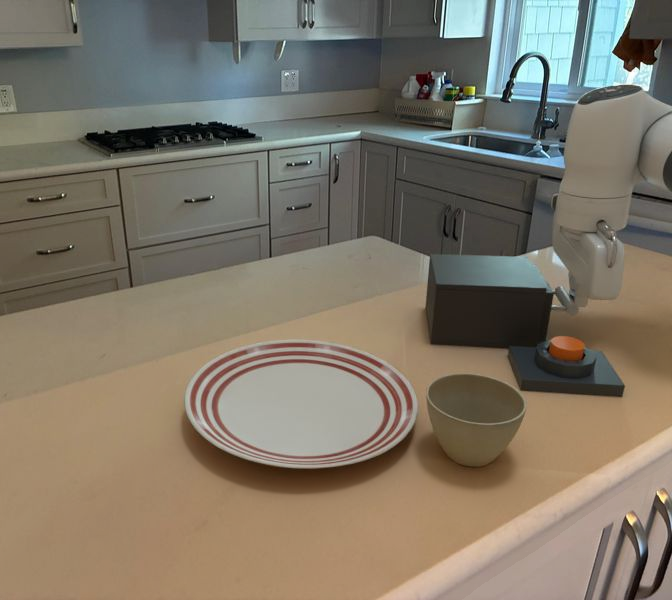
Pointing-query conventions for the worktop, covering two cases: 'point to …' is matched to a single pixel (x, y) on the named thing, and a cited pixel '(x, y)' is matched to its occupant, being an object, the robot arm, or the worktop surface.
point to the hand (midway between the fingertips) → (577, 303)
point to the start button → (566, 348)
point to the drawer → (564, 299)
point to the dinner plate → (301, 404)
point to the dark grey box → (483, 301)
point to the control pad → (564, 372)
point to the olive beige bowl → (474, 416)
